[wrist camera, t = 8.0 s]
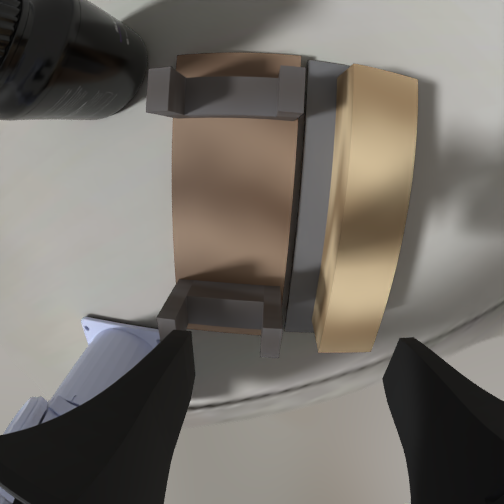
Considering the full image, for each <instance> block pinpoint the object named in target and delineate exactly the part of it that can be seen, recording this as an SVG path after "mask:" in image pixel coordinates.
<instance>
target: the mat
mask: <svg viewBox="0 0 504 504" xmlns="http://www.w3.org/2000/svg"><path fill="white" fill-rule="evenodd" d="M349 67H350V66H346V65H340V64H334V63H328V62H321V61H314V60H308V65H307V90H306V111H305V128H304V144H303V158H302V171H301V183H300V195H299V206H298V217H297V227H296V237H295V246H294V256H293V264H292V273H291V281H290V290H289V298H288V306H287V313H286V321H285V328H284V329H285V331H286V332H313V333H314V329H313V324H312V316H313V311H314V305H315V299H316V293H317V287H318V281H319V274H320V268H321V261H322V254H323V247H324V239H325V231H326V223H327V215H328V206H329V197H330V187H331V176H332V164H333V152H334V137H335V120H336V98H337V77H339V76H340V75H341V74H342V73H343V72H344V71H346V70H347V69H348V68H349Z"/></svg>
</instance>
